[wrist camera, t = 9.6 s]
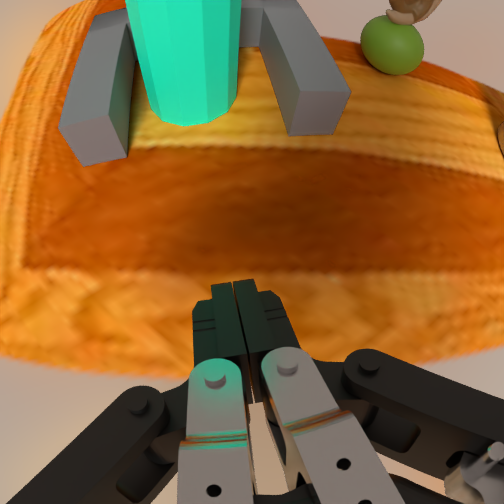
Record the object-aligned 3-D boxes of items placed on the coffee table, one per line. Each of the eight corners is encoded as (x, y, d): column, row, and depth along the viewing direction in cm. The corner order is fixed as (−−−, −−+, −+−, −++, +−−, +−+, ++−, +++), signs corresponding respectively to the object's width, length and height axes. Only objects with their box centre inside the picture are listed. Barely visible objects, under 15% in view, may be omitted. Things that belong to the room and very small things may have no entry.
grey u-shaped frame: (285, 29, 23) (291, -7, 19) (332, 134, 19) (351, 92, 15) (105, 50, 21) (95, 15, 17) (83, 166, 17) (58, 128, 13)
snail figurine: (426, 82, 22) (482, -13, 11) (381, 91, 21) (441, -29, 10) (388, 46, 24) (429, -48, 12) (340, 51, 22) (378, -63, 11)
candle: (141, 84, 20) (109, -60, 8) (217, 60, 21) (218, -80, 9) (163, 139, 18) (124, -41, 7) (251, 109, 19) (270, -62, 8)
